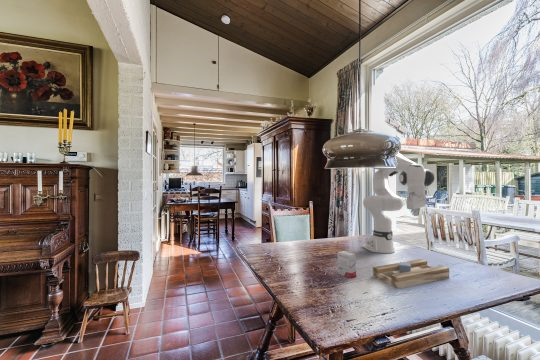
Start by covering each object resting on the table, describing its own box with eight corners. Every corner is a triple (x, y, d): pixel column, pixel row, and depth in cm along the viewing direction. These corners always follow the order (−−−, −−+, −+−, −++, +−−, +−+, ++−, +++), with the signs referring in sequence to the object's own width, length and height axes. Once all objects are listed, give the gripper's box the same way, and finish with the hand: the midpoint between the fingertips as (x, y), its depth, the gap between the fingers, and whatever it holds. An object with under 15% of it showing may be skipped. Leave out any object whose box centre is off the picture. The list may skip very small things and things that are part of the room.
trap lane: (373, 276, 133) (372, 267, 133) (420, 267, 144) (420, 258, 144) (398, 288, 117) (397, 277, 117) (449, 277, 129) (449, 267, 129)
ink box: (356, 276, 133) (356, 254, 133) (350, 278, 130) (350, 255, 130) (343, 271, 140) (343, 250, 140) (337, 273, 138) (337, 252, 138)
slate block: (399, 269, 134) (399, 262, 134) (410, 271, 131) (410, 263, 131) (399, 272, 129) (399, 264, 129) (410, 274, 127) (410, 266, 127)
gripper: (415, 192, 138) (416, 218, 138) (427, 191, 152) (428, 214, 152) (403, 192, 143) (403, 217, 143) (416, 190, 156) (416, 213, 156)
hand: (416, 215), depth 147 cm, fingers closed
